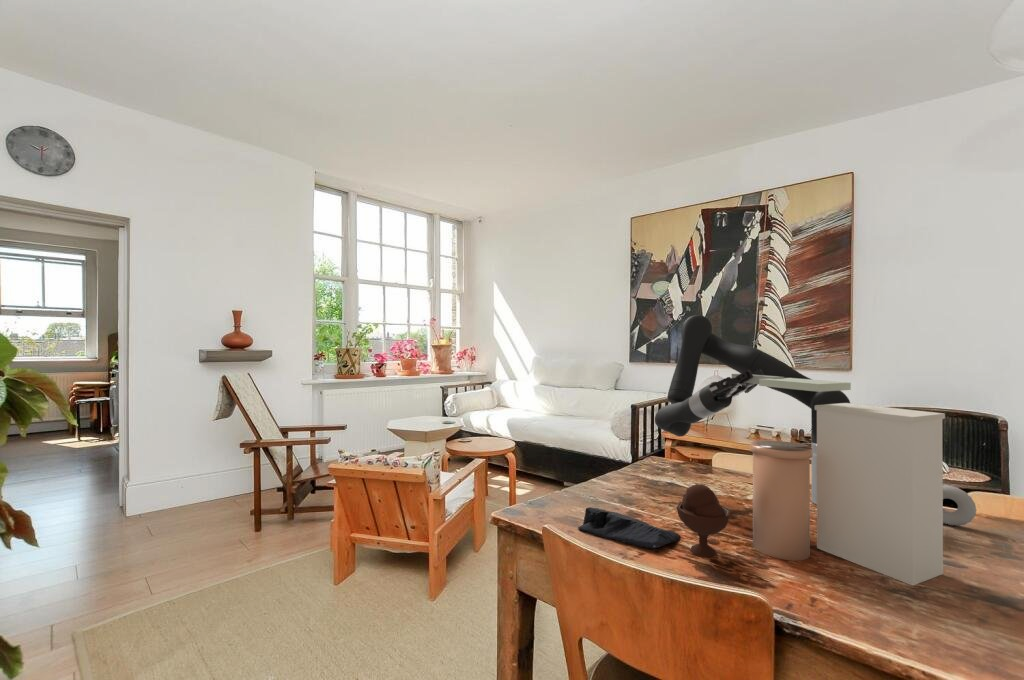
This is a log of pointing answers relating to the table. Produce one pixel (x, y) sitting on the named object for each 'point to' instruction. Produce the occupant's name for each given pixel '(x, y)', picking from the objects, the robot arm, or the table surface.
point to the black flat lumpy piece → (625, 529)
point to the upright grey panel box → (881, 488)
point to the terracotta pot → (781, 499)
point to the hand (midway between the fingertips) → (756, 373)
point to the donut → (964, 503)
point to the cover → (798, 383)
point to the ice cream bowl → (702, 517)
